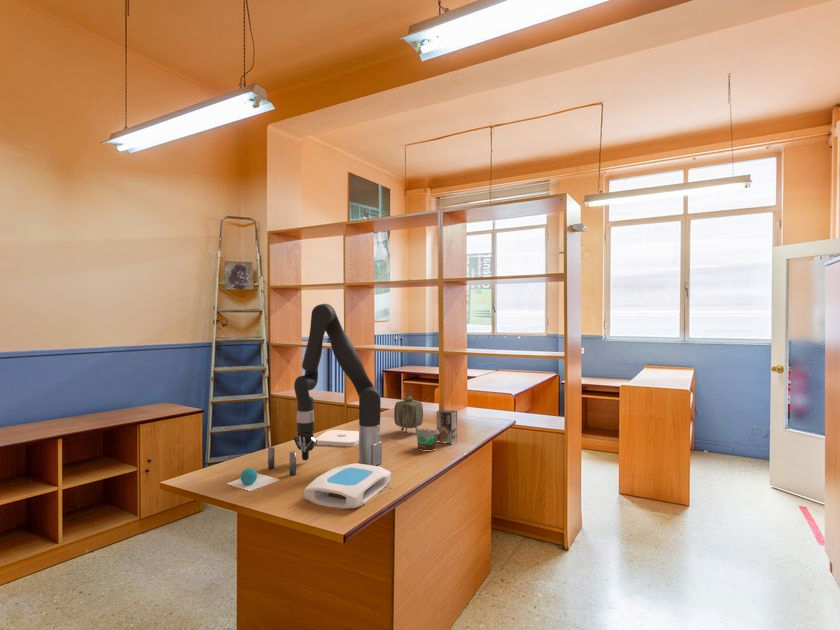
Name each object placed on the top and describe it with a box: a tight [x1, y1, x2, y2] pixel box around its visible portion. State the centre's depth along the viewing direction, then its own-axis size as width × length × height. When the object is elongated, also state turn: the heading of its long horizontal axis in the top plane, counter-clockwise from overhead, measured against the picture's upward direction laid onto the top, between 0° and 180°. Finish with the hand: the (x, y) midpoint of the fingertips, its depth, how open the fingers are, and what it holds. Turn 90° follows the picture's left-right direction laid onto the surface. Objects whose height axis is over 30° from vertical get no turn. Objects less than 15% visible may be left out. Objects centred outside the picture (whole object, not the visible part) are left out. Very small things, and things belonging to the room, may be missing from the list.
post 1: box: [267, 446, 276, 471], centre depth 191 cm, size 3×3×9 cm
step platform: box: [303, 462, 392, 510], centre depth 166 cm, size 21×28×6 cm
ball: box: [239, 467, 258, 485], centre depth 173 cm, size 6×6×6 cm
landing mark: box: [225, 472, 280, 492], centre depth 175 cm, size 14×14×1 cm
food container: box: [415, 427, 440, 450], centre depth 219 cm, size 12×6×10 cm, turn 68°
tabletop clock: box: [393, 387, 424, 435], centre depth 251 cm, size 14×9×25 cm, turn 58°
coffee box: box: [436, 408, 458, 443], centre depth 233 cm, size 9×6×16 cm
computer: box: [314, 429, 359, 448], centre depth 236 cm, size 22×22×3 cm
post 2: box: [288, 451, 297, 477], centre depth 184 cm, size 3×3×9 cm
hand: (305, 459), depth 198 cm, fingers closed
